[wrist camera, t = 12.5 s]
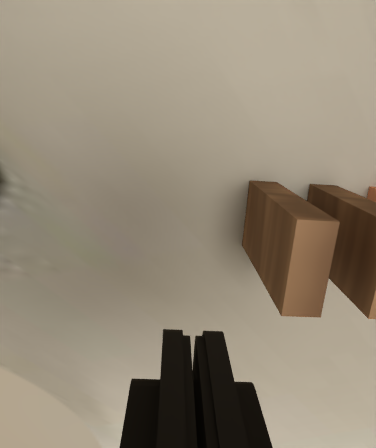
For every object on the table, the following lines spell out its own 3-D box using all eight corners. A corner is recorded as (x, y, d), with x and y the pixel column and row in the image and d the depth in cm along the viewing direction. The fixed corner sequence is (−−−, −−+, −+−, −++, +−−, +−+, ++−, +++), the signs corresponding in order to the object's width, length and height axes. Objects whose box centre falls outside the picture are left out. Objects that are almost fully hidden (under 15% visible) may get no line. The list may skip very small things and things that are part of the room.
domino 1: (241, 244, 27) (281, 315, 17) (249, 180, 25) (297, 219, 16) (267, 246, 27) (320, 317, 18) (276, 182, 26) (339, 221, 16)
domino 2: (299, 247, 27) (368, 318, 18) (309, 184, 26) (391, 224, 16) (324, 248, 27) (406, 320, 18) (336, 185, 26) (433, 226, 16)
